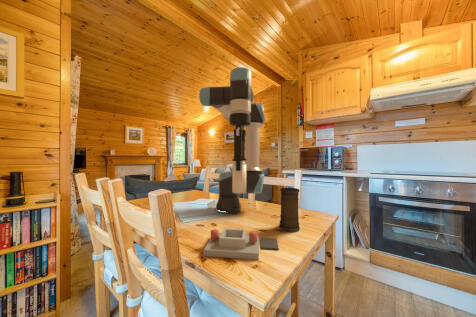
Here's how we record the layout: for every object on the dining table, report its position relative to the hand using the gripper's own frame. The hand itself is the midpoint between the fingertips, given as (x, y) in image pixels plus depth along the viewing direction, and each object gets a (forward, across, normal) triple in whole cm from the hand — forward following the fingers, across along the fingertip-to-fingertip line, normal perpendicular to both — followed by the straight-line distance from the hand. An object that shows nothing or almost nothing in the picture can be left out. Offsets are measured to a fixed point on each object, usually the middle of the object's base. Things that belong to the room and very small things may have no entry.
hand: (239, 178), depth 68 cm
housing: (+25, +1, -2) cm, 25 cm away
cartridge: (+5, 0, 0) cm, 5 cm away
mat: (+25, -4, +11) cm, 27 cm away
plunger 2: (+22, 0, +5) cm, 23 cm away
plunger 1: (+22, +1, -9) cm, 24 cm away
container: (+25, -21, +21) cm, 39 cm away
